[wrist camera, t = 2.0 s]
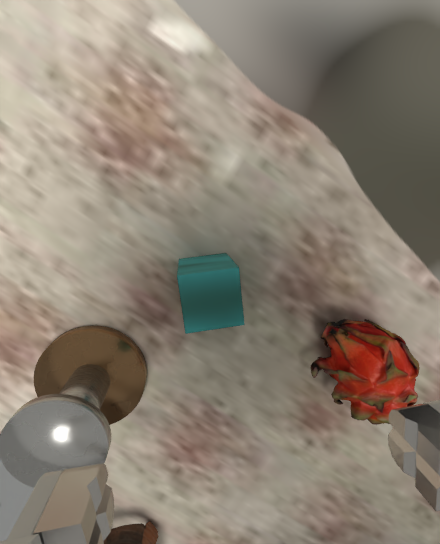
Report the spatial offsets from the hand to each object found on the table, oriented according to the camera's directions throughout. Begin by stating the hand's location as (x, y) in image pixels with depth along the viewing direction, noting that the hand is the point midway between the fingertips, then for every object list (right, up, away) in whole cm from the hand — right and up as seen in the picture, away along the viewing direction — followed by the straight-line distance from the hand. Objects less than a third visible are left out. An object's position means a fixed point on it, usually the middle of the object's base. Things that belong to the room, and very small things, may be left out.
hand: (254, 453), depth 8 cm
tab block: (-2, +4, +20) cm, 21 cm away
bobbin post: (-13, -5, +21) cm, 25 cm away
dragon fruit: (+13, -3, +24) cm, 27 cm away
